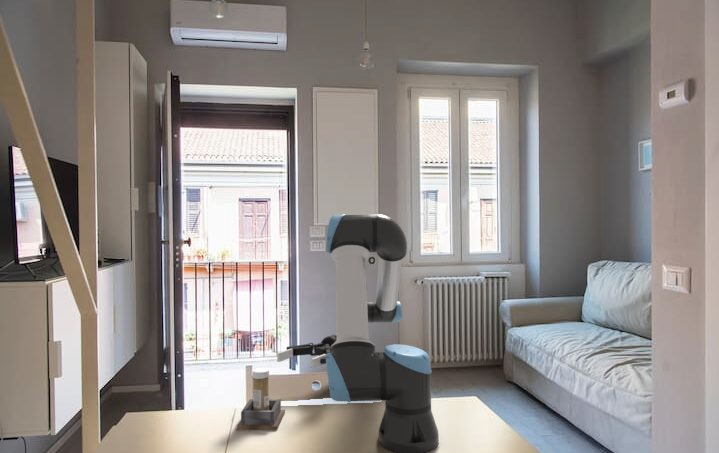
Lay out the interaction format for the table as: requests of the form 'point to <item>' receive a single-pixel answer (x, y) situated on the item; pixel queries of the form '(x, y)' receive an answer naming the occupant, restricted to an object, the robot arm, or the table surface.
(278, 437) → the table surface
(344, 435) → the table surface
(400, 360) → the robot arm
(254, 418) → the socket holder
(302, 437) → the table surface
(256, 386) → the sprinkles bottle
